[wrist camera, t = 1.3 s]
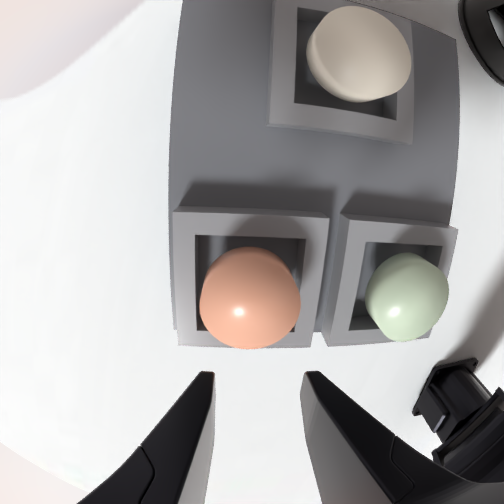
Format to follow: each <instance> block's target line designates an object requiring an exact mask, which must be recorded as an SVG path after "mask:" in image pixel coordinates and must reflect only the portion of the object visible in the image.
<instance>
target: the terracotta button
mask: <svg viewBox="0 0 504 504" xmlns="http://www.w3.org/2000/svg"><path fill="white" fill-rule="evenodd" d="M300 309H301V298H300V294H299V290H298V288H297V286H296V283H295V281H294V279H293V277H292V274H291V272H290V270H289V268H288V267H287V265H286V264H285V262H284V261H283V260H282V259H281V258H280V257H279V256H277V255H276V254H274V253H272V252H271V251H269V250H266V249H263V248H259V247H240V248H236V249H232V250H230V251H228V252H226V253H224V254H222V255H221V256H220V257H218V258H217V259H216V260H215V261H214V262H213V263H212V265H211V266H210V267H209V269H208V271H207V273H206V276H205V279H204V284H203V288H202V293H201V298H200V314H201V318H202V321H203V323H204V325H205V327H206V328H207V330H208V331H209V332H210V333H211V334H212V335H213V336H214V337H215V338H216V339H218V340H219V341H221V342H222V343H224V344H226V345H229V346H232V347H235V348H240V349H258V348H263V347H266V346H269V345H272V344H274V343H276V342H278V341H279V340H281V339H282V338H283V337H285V336H286V335H287V334H288V333H289V332H290V331H291V330H292V328H293V327H294V325H295V324H296V322H297V320H298V317H299V314H300Z"/></svg>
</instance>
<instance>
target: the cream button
mask: <svg viewBox="0 0 504 504" xmlns="http://www.w3.org/2000/svg"><path fill="white" fill-rule="evenodd" d="M306 57H307V63H308V66H309V68H310V71H311V73H312V74H313V76H314V78H315V79H316V80H317V82H318V83H319V84H320V85H321V86H322V87H323V88H324V89H325V90H326V91H328V92H329V93H331V94H332V95H334V96H336V97H338V98H340V99H342V100H345V101H349V102H356V103H362V102H368V101H372V100H375V99H378V98H381V97H385V96H388V95H391V94H393V93H395V92H397V91H398V90H400V89H401V88H402V87H403V86H404V85H405V83H406V82H407V80H408V78H409V75H410V71H411V55H410V51H409V48H408V45H407V43H406V41H405V39H404V37H403V36H402V34H401V33H400V31H399V30H398V29H397V28H396V27H395V25H394V24H393V23H391V22H390V21H389V20H388V19H387V18H385V17H384V16H382V15H381V14H379V13H377V12H375V11H373V10H370V9H367V8H364V7H359V6H345V7H340V8H337V9H335V10H333V11H331V12H330V13H328V14H327V15H326V16H325V17H324V18H323V19H322V21H321V22H320V23H319V25H318V26H317V28H316V29H315V30H314V32H313V33H312V35H311V36H310V38H309V40H308V43H307V48H306Z"/></svg>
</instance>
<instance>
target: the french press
mask: <svg viewBox="0 0 504 504" xmlns="http://www.w3.org/2000/svg"><path fill="white" fill-rule="evenodd" d="M492 9H494V10H495V11H496V12H497V13H498V14H499V15H500V16H501V17H502V18H503V19H504V0H460V1H459V7H458V12H459V20H460V23H461V27H462V30H463V33H464V35H465V38H466V40H467V42H468V44H469V46H470V48H471V50H472V52H473V53H474V55H475V57H476V58H477V60H478V61H479V63H480V64H481V66H482V67H483V68H484V70H485V71H486V72H487V73H488V74H489V75H490V77H492V78H493V79H494V80H495V81H496V82H497V83H499V84H500V85H502V86H503V87H504V47H503V46H502V44H501V42H500V40H499V38H498V36H497V34H496V32H495V29H494V27H493V24H492V22H491V19H490V16H489V13H488V11H490V10H492Z"/></svg>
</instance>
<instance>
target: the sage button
mask: <svg viewBox="0 0 504 504" xmlns="http://www.w3.org/2000/svg"><path fill="white" fill-rule="evenodd" d="M448 295H449V287H448V281H447V279H446V276H445V275H444V273H443V272H442V271H441V270H440V269H438V268H437V267H436V266H434V265H433V264H431V263H430V262H428V261H427V260H425V259H424V258H422V257H421V256H419V255H417V254H414V253H400V254H397V255H394V256H392V257H390V258H388V259H387V260H385V261H384V262H383V263H382V264H381V265H380V266H379V267H378V268H377V269H376V270H375V272H374V273H373V275H372V276H371V278H370V280H369V282H368V285H367V288H366V293H365V305H366V309H367V311H368V313H369V315H370V316H371V317H372V319H373V320H374V321H375V323H376V324H377V325H378V327H379V328H380V329H381V331H382V332H383V333H384V335H385V336H386V337H388V338H389V339H391V340H393V341H397V342H406V341H411V340H414V339H416V338H418V337H420V336H422V335H423V334H425V333H426V332H427V331H429V330H430V329H431V328H432V327H433V326H434V325H435V324H436V322H437V321H438V320H439V318H440V317H441V315H442V313H443V311H444V309H445V307H446V304H447V300H448Z"/></svg>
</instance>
